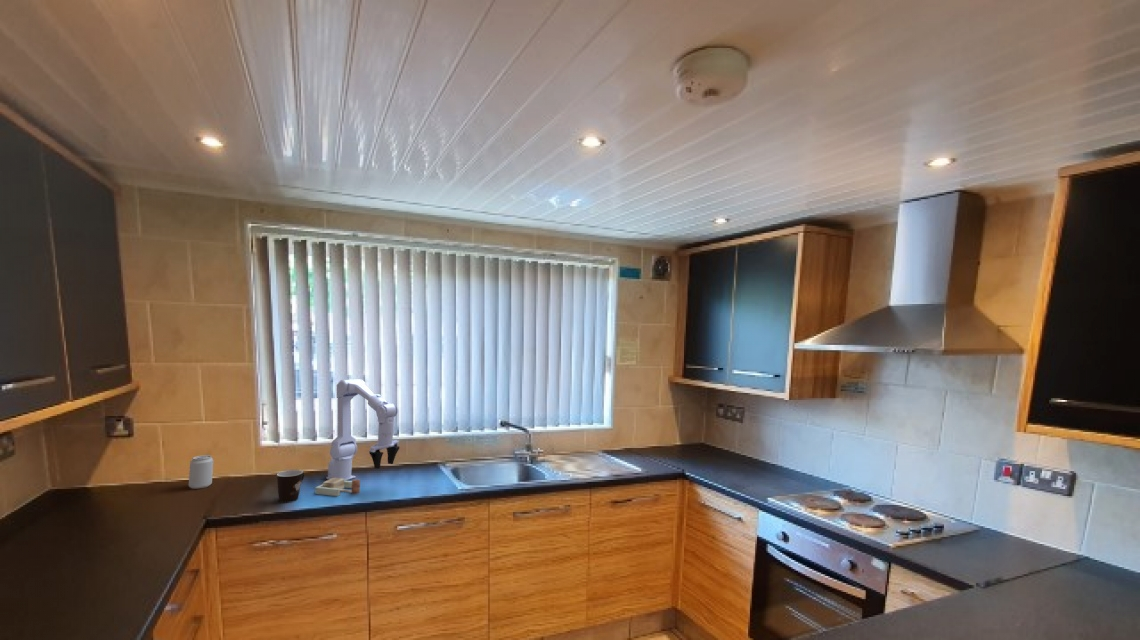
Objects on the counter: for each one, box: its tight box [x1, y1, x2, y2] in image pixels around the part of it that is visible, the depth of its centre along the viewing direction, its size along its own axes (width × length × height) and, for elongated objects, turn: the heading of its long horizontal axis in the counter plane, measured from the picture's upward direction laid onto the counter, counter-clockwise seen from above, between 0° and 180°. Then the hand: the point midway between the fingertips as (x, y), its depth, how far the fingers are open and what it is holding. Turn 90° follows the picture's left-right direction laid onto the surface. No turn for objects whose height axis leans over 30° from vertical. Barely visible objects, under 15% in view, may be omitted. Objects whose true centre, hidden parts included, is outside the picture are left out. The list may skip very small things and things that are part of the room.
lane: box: [314, 480, 352, 497], centre depth 190 cm, size 10×11×2 cm
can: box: [188, 454, 214, 490], centre depth 189 cm, size 8×8×12 cm
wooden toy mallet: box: [322, 478, 361, 495], centre depth 189 cm, size 14×6×5 cm, turn 80°
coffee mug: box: [276, 469, 305, 503], centre depth 180 cm, size 12×9×10 cm
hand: (383, 465), depth 193 cm, fingers open, 7 cm apart
